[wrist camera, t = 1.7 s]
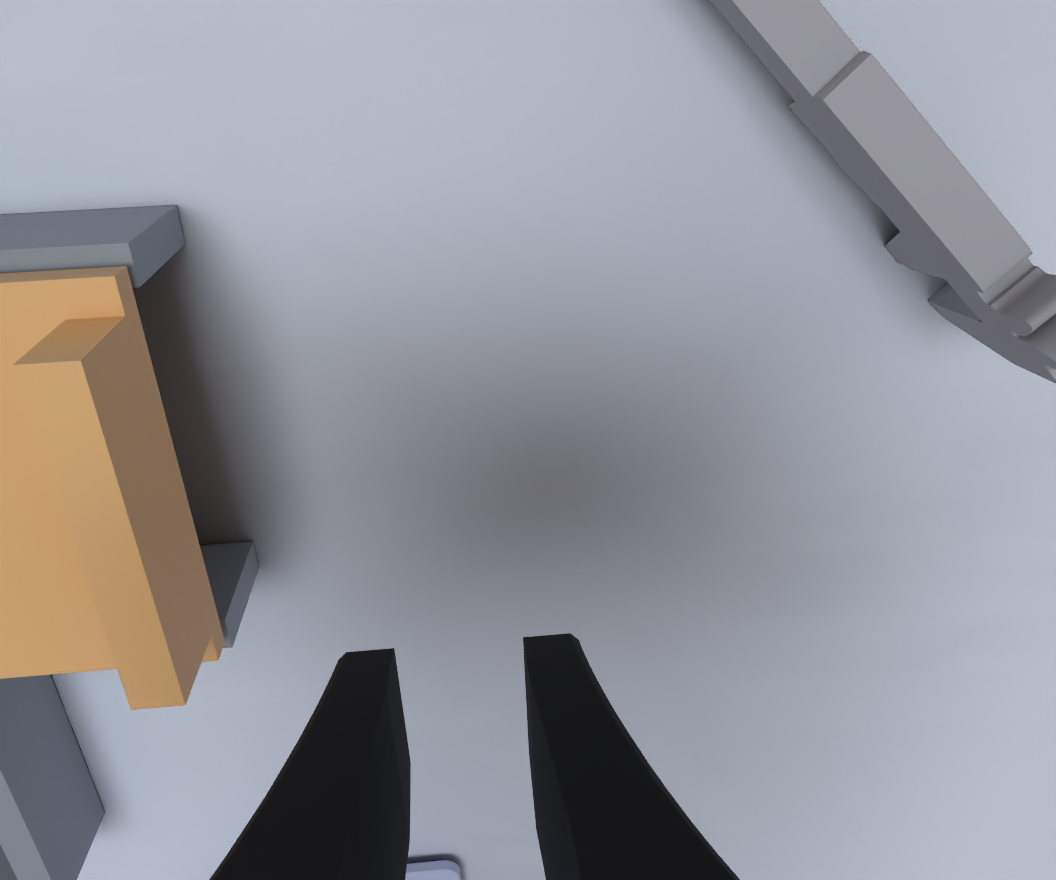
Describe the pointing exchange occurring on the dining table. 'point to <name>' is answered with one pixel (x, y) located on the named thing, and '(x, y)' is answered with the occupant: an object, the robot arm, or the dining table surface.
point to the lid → (93, 496)
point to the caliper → (907, 179)
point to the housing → (33, 702)
